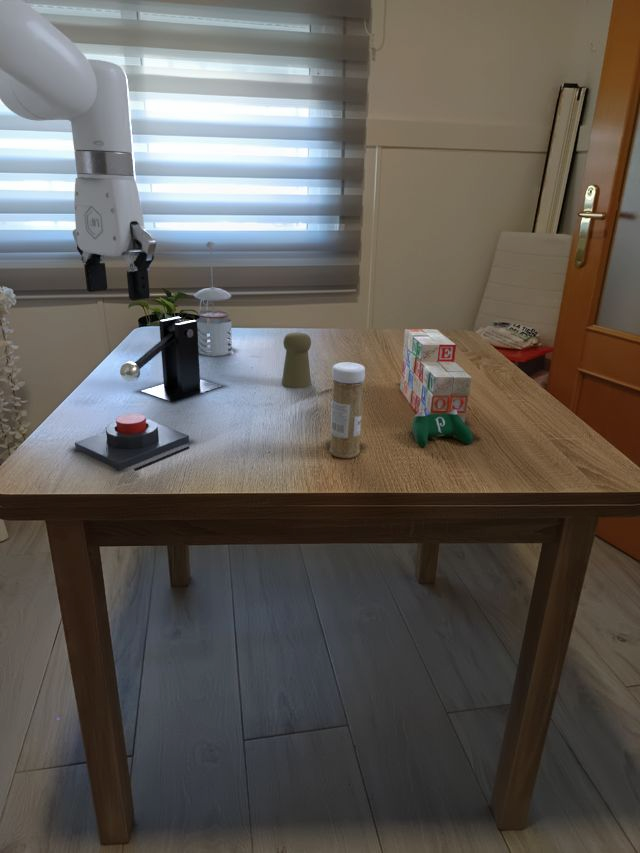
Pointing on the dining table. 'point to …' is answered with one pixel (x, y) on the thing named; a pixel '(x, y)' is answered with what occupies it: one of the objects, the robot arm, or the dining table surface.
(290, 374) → the cork
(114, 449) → the button block
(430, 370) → the stack of blocks
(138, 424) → the button
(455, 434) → the gaming controller
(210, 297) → the french press
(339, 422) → the sprinkles bottle
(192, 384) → the switch bracket
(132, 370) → the switch lever
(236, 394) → the dining table surface
